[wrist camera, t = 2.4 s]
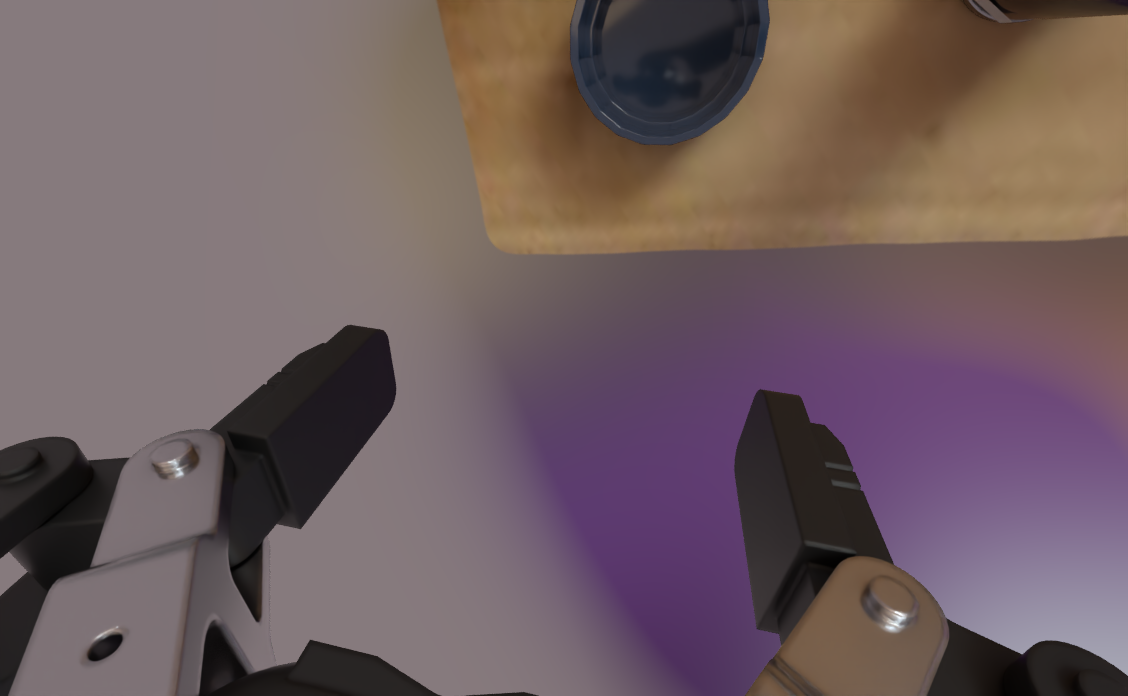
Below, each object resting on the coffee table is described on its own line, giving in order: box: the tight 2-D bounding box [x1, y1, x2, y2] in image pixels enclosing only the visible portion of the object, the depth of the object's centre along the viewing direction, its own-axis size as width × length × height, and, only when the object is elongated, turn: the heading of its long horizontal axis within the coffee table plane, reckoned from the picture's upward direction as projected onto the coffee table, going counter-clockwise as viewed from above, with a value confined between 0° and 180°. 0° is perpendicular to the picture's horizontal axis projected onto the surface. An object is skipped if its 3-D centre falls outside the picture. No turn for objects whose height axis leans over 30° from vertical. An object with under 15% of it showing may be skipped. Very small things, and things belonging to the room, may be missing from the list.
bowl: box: [570, 0, 770, 145], centre depth 36 cm, size 13×13×6 cm
